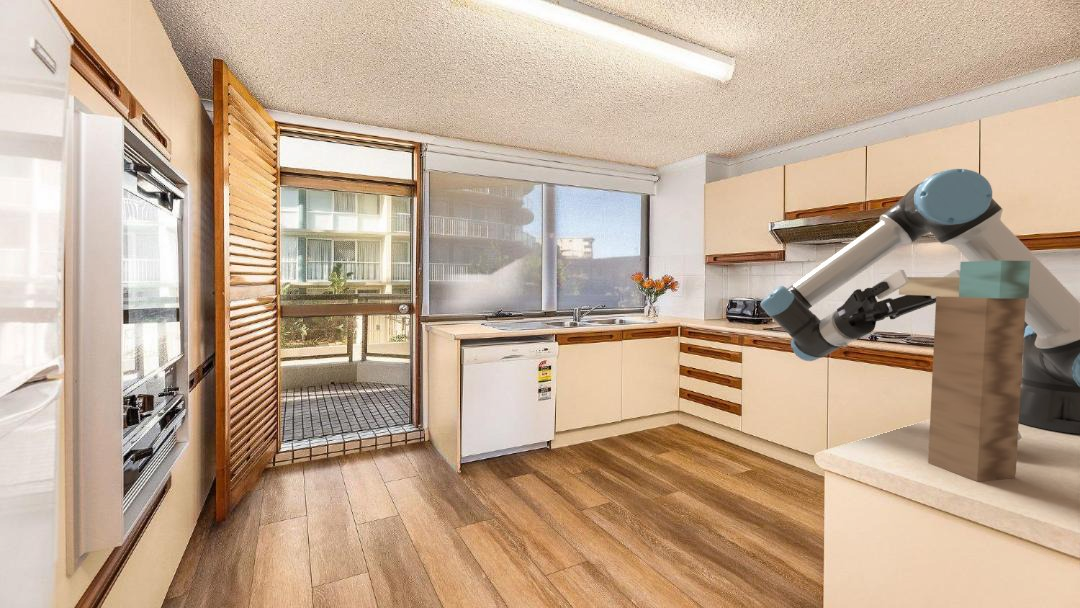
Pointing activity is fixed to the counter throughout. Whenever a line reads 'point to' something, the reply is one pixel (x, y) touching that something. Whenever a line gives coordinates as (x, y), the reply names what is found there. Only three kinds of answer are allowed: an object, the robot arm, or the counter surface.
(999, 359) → the stand
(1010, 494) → the counter surface
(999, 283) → the mallet
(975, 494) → the counter surface
